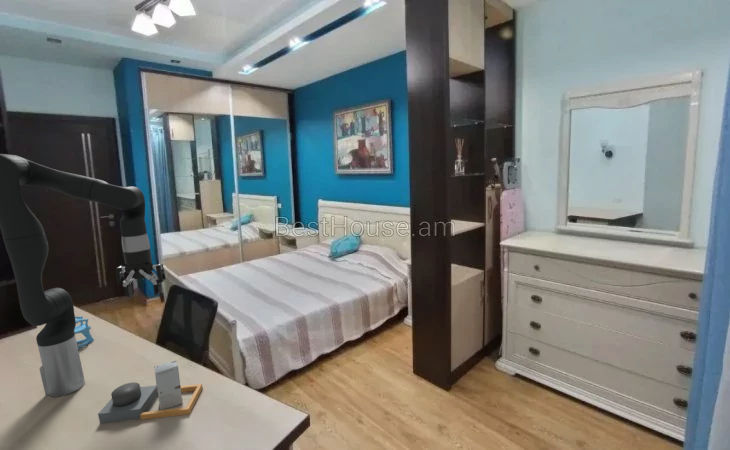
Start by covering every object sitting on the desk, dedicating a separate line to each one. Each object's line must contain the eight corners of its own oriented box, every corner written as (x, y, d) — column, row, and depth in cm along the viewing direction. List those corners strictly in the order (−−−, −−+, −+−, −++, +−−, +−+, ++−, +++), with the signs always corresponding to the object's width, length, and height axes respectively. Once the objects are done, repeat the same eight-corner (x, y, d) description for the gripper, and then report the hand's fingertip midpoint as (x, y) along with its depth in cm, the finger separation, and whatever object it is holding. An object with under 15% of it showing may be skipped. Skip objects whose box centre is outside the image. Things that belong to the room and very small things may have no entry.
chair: (97, 342, 150) (92, 314, 148) (72, 351, 143) (67, 322, 141) (88, 338, 154) (83, 311, 152) (64, 346, 147) (59, 318, 145)
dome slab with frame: (98, 424, 101) (94, 405, 100) (122, 397, 113) (118, 379, 112) (189, 413, 104) (186, 395, 102) (202, 388, 115) (200, 370, 114)
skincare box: (160, 411, 105) (153, 373, 103) (159, 403, 109) (152, 366, 107) (183, 403, 109) (178, 366, 106) (181, 395, 112) (176, 359, 110)
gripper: (106, 252, 114) (114, 301, 117) (154, 249, 115) (161, 298, 118) (119, 246, 121) (127, 293, 124) (164, 244, 123) (170, 290, 126)
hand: (143, 295), depth 121 cm, fingers open, 8 cm apart
